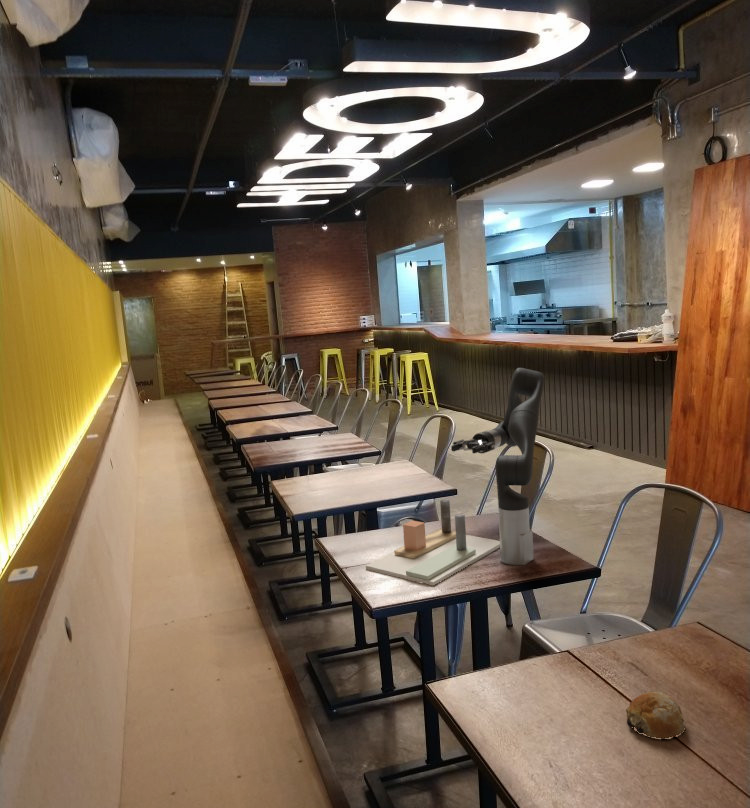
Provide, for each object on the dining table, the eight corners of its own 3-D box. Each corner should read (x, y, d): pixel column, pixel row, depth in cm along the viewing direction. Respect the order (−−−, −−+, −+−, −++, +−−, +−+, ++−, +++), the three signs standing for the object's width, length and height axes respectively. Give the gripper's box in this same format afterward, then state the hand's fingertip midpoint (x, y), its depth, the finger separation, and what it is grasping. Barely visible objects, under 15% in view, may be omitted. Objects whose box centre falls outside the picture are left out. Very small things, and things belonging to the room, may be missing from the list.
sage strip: (475, 552, 225) (473, 515, 224) (427, 580, 206) (425, 539, 204) (454, 548, 230) (452, 512, 229) (406, 574, 211) (403, 535, 209)
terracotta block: (425, 546, 231) (424, 522, 230) (416, 550, 227) (415, 526, 226) (413, 543, 234) (412, 520, 233) (404, 548, 230) (403, 524, 229)
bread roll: (680, 762, 127) (700, 725, 126) (626, 737, 128) (645, 700, 127) (667, 729, 137) (686, 695, 135) (617, 706, 138) (635, 672, 136)
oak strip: (459, 535, 243) (457, 500, 242) (414, 558, 224) (411, 521, 222) (440, 531, 248) (438, 498, 247) (394, 554, 229) (392, 517, 227)
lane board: (503, 545, 235) (503, 541, 235) (433, 586, 205) (433, 582, 204) (439, 533, 251) (439, 529, 251) (365, 569, 221) (365, 565, 221)
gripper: (469, 430, 263) (445, 437, 251) (503, 432, 254) (479, 440, 242) (470, 449, 264) (446, 458, 252) (504, 452, 255) (480, 461, 243)
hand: (462, 449), depth 247 cm, fingers open, 8 cm apart
